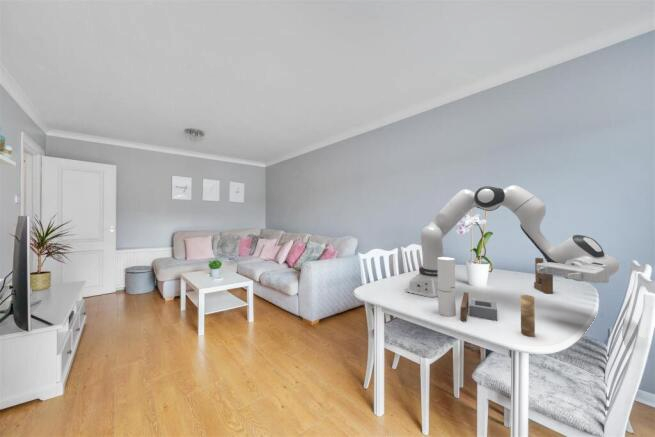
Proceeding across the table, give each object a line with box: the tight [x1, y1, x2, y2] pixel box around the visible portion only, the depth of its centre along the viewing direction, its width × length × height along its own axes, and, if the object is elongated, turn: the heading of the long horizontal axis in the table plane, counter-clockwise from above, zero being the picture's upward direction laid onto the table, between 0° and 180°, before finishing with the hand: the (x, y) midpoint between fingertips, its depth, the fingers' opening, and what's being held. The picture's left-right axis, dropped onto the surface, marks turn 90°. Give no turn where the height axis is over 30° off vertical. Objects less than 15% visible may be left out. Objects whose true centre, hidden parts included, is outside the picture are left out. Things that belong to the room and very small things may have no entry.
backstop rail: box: [460, 291, 470, 322], centre depth 113 cm, size 2×22×6 cm, turn 148°
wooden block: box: [533, 257, 554, 295], centre depth 140 cm, size 4×11×18 cm, turn 167°
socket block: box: [469, 298, 498, 322], centre depth 110 cm, size 10×10×5 cm
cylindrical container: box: [437, 256, 457, 317], centre depth 112 cm, size 7×7×25 cm
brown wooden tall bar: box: [520, 294, 536, 338], centre depth 92 cm, size 4×4×14 cm
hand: (552, 273), depth 95 cm, fingers open, 8 cm apart
